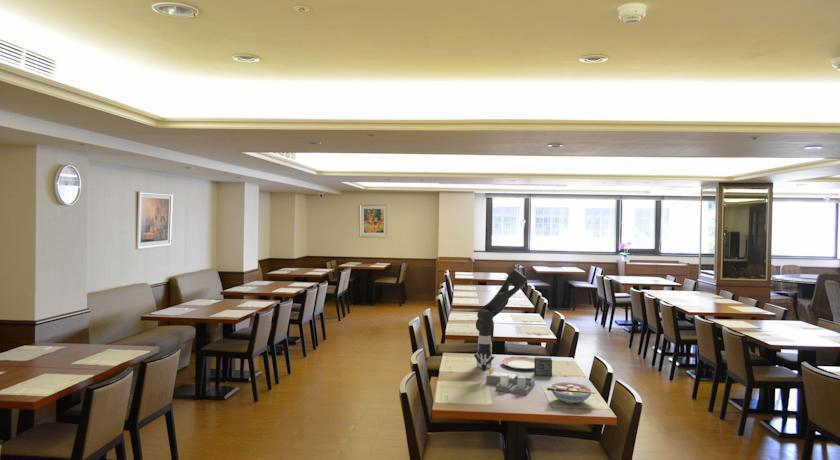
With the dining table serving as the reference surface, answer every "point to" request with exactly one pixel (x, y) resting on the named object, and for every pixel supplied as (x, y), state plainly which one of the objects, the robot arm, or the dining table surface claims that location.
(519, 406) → the dining table surface
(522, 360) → the dinner plate
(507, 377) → the white jaw block
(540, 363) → the small box
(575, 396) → the ramen bowl
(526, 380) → the housing
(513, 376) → the lid
